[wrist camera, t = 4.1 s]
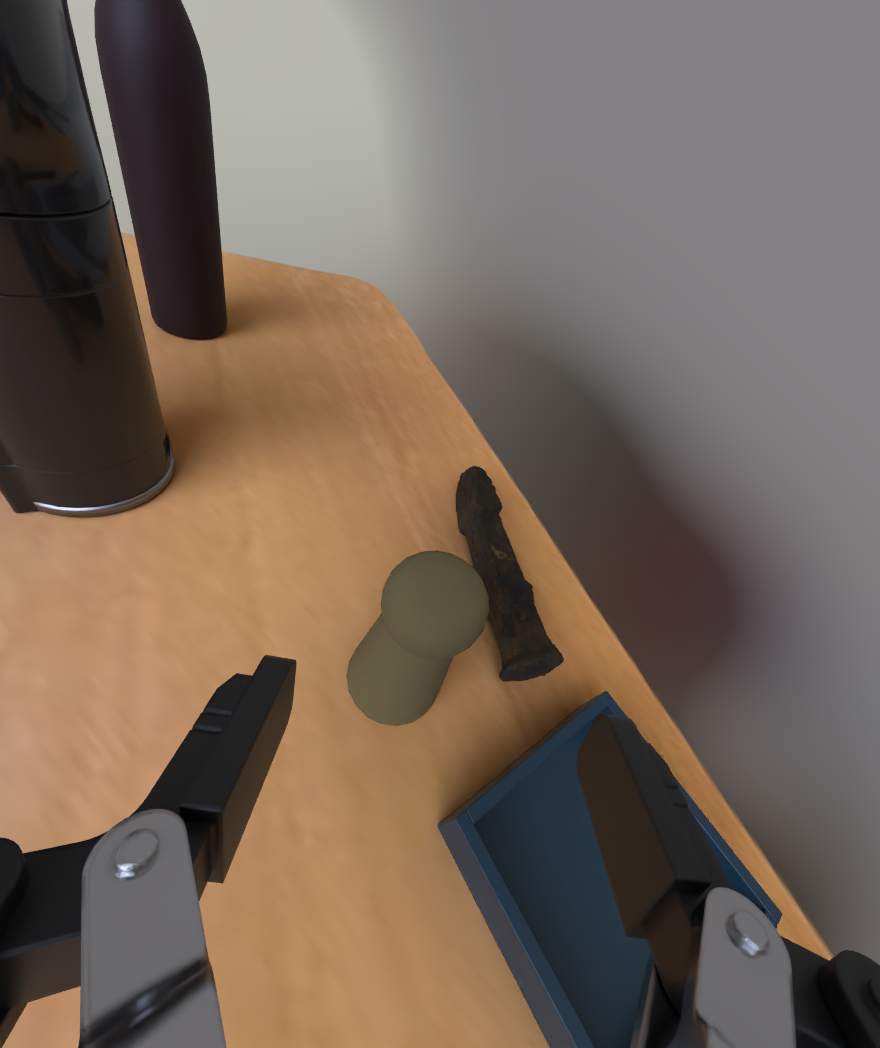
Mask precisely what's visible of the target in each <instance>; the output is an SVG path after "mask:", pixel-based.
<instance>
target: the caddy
mask: <svg viewBox="0 0 880 1048" xmlns="http://www.w3.org/2000/svg"><path fill="white" fill-rule="evenodd" d="M599 714H607V715H612V716H618V717H624V718H628V717H627V716H626V715H625V714H624V712H623V711H622V710H621V709H620V707H619V706H618V705H617V704H616V702H615V701H614V700H613V698H612V697H611V696H610V695H609V693H608V692H607V691H605V692H603V693H601V694H600V695H598V696H596V697H595V698H593V699H591V700H590V701H588V702H586V703H585V704H583V705H582V706H580V707H579V708H578V709H577V710H576V711H574V712H573V713H572V714H571V715H569V716H568V717H567V718H566V719H565V720H563V721H562V722H561V723H560V724H559V725H557V726H556V727H555V728H554V729H553V730H551V731H550V732H549V733H548V734H547V735H545V736H544V737H543V738H542V739H541V740H539V741H538V742H537V743H536V744H535V745H533V746H532V747H531V748H530V749H529V750H527V751H526V752H525V753H524V754H523V755H521V756H520V757H519V758H518V759H517V760H515V761H514V762H513V763H512V764H511V765H509V766H508V767H507V768H506V769H505V770H503V771H502V772H501V773H500V774H499V775H497V776H496V777H495V778H494V779H493V780H491V781H490V782H489V783H488V784H487V785H485V786H484V787H483V788H482V789H481V790H479V791H478V792H477V793H476V794H475V795H473V796H472V797H471V798H470V799H469V800H467V801H466V802H465V803H464V804H463V805H461V806H460V807H459V808H458V809H457V810H455V811H454V812H453V813H452V814H451V815H449V816H448V817H447V818H446V819H445V820H443V821H442V822H441V823H440V824H439V825H438V828H439V830H440V832H441V834H442V836H443V838H444V840H445V842H446V844H447V846H448V848H449V850H450V852H451V854H452V856H453V858H454V860H455V862H456V864H457V866H458V868H459V870H460V872H461V874H462V876H463V877H464V879H465V881H466V883H467V885H468V887H469V889H470V891H471V893H472V895H473V897H474V899H475V901H476V903H477V905H478V907H479V909H480V911H481V913H482V915H483V917H484V919H485V921H486V923H487V925H488V927H489V929H490V931H491V933H492V934H493V936H494V938H495V940H496V942H497V944H498V946H499V948H500V950H501V952H502V954H503V956H504V958H505V960H506V962H507V964H508V966H509V968H510V970H511V972H512V974H513V976H514V978H515V980H516V982H517V984H518V986H519V988H520V990H521V991H522V993H523V995H524V997H525V999H526V1001H527V1003H528V1005H529V1007H530V1009H531V1011H532V1013H533V1015H534V1017H535V1019H536V1021H537V1023H538V1025H539V1027H540V1029H541V1031H542V1033H543V1035H544V1037H545V1039H546V1041H547V1043H548V1045H549V1047H550V1048H630V1043H631V1038H632V1033H633V1028H634V1023H635V1018H636V1013H637V1008H638V1003H639V998H640V993H641V988H642V983H643V978H644V974H645V969H646V964H647V961H648V959H649V957H650V955H651V954H652V952H651V949H650V946H649V943H648V940H647V939H639V938H631V937H626V934H625V930H624V927H623V924H622V920H621V917H620V914H619V911H618V907H617V904H616V901H615V897H614V894H613V891H612V887H611V884H610V881H609V877H608V874H607V871H606V868H605V864H604V861H603V858H602V854H601V851H600V848H599V844H598V841H597V838H596V834H595V831H594V828H593V825H592V821H591V818H590V815H589V811H588V808H587V805H586V801H585V798H584V795H583V791H582V788H581V785H580V782H579V778H578V774H577V765H576V763H577V754H578V751H579V749H580V747H581V745H582V743H583V741H584V739H585V737H586V735H587V734H588V732H589V730H590V728H591V726H592V724H593V722H594V720H595V719H596V717H597V716H598V715H599ZM638 732H639V731H638ZM639 734H640V733H639ZM640 736H641V738H642V740H643V742H644V743H647V742H646V740H645V739H644V738H643V737H642V735H641V734H640ZM673 777H674V776H673ZM674 778H675V777H674ZM675 780H676V778H675ZM676 782H677V784H678V789H679V790H681V792H682V794H683V796H684V798H685V800H686V802H687V803H688V809H691V811H692V813H693V815H694V817H695V819H696V821H697V823H698V825H699V827H700V829H701V830H702V832H703V834H704V836H705V838H706V840H707V842H708V844H709V846H710V848H711V850H712V852H713V854H714V855H715V857H716V859H717V861H718V863H719V865H720V867H721V869H722V871H723V873H724V875H725V877H726V879H727V881H728V882H729V884H730V886H731V888H732V889H733V890H734V891H736V892H738V893H740V894H742V895H743V896H744V897H746V898H747V899H749V900H750V901H751V902H752V903H754V904H755V905H756V906H757V907H758V908H759V909H760V910H761V911H762V912H763V913H764V914H765V916H766V917H767V918H768V919H769V920H770V922H771V923H772V924H773V926H774V927H775V929H776V928H777V924H778V923H779V921H780V918H781V916H782V913H781V912H780V910H779V909H778V908H777V907H776V905H775V904H774V903H773V902H772V900H771V899H770V898H769V896H768V895H767V894H766V893H765V891H764V890H763V889H762V888H761V886H760V885H759V884H758V882H757V881H756V880H755V879H754V877H753V876H752V875H751V874H750V872H749V871H748V870H747V869H746V867H745V866H744V865H743V863H742V862H741V861H740V860H739V858H738V857H737V856H736V855H735V853H734V852H733V851H732V849H731V848H730V847H729V846H728V844H727V843H726V842H725V841H724V839H723V838H722V837H721V836H720V834H719V833H718V832H717V830H716V829H715V828H714V827H713V825H712V824H711V823H710V822H709V820H708V819H707V818H706V816H705V815H704V814H703V813H702V811H701V810H700V809H699V808H698V806H697V805H696V804H695V803H694V801H693V800H692V799H691V797H690V796H689V795H688V794H687V792H686V791H685V790H684V789H683V787H682V786H681V785H680V783H679V782H678V781H677V780H676Z"/></svg>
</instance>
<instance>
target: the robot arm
mask: <svg viewBox="0 0 880 1048" xmlns="http://www.w3.org/2000/svg"><path fill="white" fill-rule="evenodd" d="M165 425H166V424H165ZM165 425H164V420H163V416H162V412H161V407H160V403H159V399H158V394H157V390H156V385H155V381H154V377H153V372H152V368H151V364H150V359H149V355H148V350H147V346H146V342H145V337H144V333H143V328H142V324H141V320H140V315H139V311H138V307H137V302H136V298H135V293H134V289H133V285H132V280H131V276H130V272H129V267H128V264H127V258H126V254H125V250H124V245H123V241H122V236H121V232H120V228H119V224H118V219H117V215H116V211H115V206H114V201H113V198H112V196H111V189H110V185H109V181H108V176H107V173H106V169H105V165H104V160H103V156H102V152H101V148H100V145H99V141H98V136H97V132H96V128H95V124H94V120H93V116H92V111H91V107H90V103H89V99H88V95H87V90H86V86H85V82H84V77H83V73H82V68H81V64H80V60H79V56H78V51H77V46H76V41H75V37H74V33H73V28H72V24H71V19H70V14H69V9H68V4H67V0H0V491H1V493H2V494H3V495H4V497H5V498H6V500H7V501H8V503H9V504H10V506H11V507H12V509H13V510H14V512H16V513H23V512H29V511H42V512H46V513H49V514H54V515H60V516H69V517H93V516H102V515H108V514H113V513H117V512H121V511H125V510H128V509H131V508H133V507H136V506H138V505H140V504H142V503H144V502H146V501H148V500H150V499H151V498H153V497H154V496H156V495H157V494H159V493H160V492H161V491H162V490H163V489H164V488H165V487H166V486H167V484H168V483H169V482H170V480H171V478H172V476H173V473H174V469H175V463H174V458H173V457H174V456H173V452H172V450H171V449H172V447H171V448H170V445H171V443H170V444H169V442H170V439H168V438H169V436H167V434H168V432H167V434H166V430H167V428H166V429H165ZM295 674H296V660H293V659H287V658H281V657H275V656H270V655H265V656H264V657H263V659H262V660H261V662H260V664H259V665H258V667H257V669H256V671H255V672H254V674H253V676H250V675H244V674H238V673H237V674H235V675H234V676H233V677H231V678H230V679H229V680H228V681H226V682H225V683H224V684H223V685H221V686H220V687H219V688H217V690H216V691H215V693H214V694H213V696H212V697H211V699H210V700H209V702H208V704H207V705H206V707H205V708H204V711H203V713H201V714H200V716H199V717H198V719H197V721H196V722H195V724H194V725H193V728H192V730H190V731H189V733H188V734H187V736H186V738H185V739H184V741H183V742H182V744H181V745H180V747H179V748H178V750H177V751H176V753H175V755H174V756H173V758H172V759H171V761H170V762H169V764H168V765H167V767H166V768H165V770H164V772H163V773H162V775H161V776H160V778H159V779H158V781H157V782H156V784H155V785H154V787H153V789H152V790H151V792H150V793H149V795H148V796H147V798H146V799H145V800H144V802H143V803H142V804H141V805H140V807H139V808H138V809H137V810H136V811H135V812H134V813H133V814H132V815H131V816H129V817H128V818H126V819H124V820H123V821H121V822H119V823H118V824H116V825H115V826H114V827H113V828H111V829H110V830H109V831H107V832H105V833H103V834H101V835H99V836H97V837H94V838H92V839H89V840H85V841H81V842H77V843H72V844H67V845H62V846H57V847H53V848H48V849H43V850H38V851H33V852H28V853H22V851H21V849H20V847H19V845H17V844H16V843H15V842H14V841H12V840H9V839H7V838H0V1048H2V1046H3V1045H4V1043H5V1041H6V1039H7V1038H8V1036H9V1034H10V1032H11V1031H12V1029H13V1027H14V1026H15V1024H16V1022H17V1020H18V1019H19V1017H20V1015H21V1014H22V1012H23V1010H24V1008H25V1007H26V1005H27V1003H28V1002H30V1001H34V1000H37V999H40V998H43V997H47V996H50V995H53V994H56V993H59V992H63V991H66V990H69V989H72V988H76V987H79V986H81V1004H80V1040H79V1047H78V1048H226V1042H225V1036H224V1030H223V1025H222V1019H221V1013H220V1007H219V1002H218V996H217V990H216V985H215V980H214V975H213V971H212V967H211V963H210V961H209V957H208V952H207V947H206V941H205V935H204V930H203V924H202V918H201V912H200V906H199V900H200V898H201V896H202V893H203V891H204V889H205V886H206V884H207V882H216V883H223V882H224V879H225V877H226V874H227V872H228V870H229V867H230V865H231V862H232V860H233V857H234V855H235V852H236V850H237V847H238V845H239V842H240V840H241V838H242V835H243V833H244V830H245V828H246V825H247V823H248V820H249V818H250V815H251V813H252V810H253V808H254V806H255V803H256V801H257V798H258V796H259V793H260V791H261V788H262V786H263V783H264V781H265V778H266V776H267V774H268V771H269V769H270V766H271V764H272V761H273V759H274V756H275V754H276V751H277V749H278V746H279V744H280V742H281V739H282V737H283V734H284V732H285V729H286V726H287V724H288V720H289V717H290V713H291V709H292V704H293V695H294V684H295ZM576 765H577V774H578V778H579V782H580V785H581V788H582V791H583V795H584V798H585V801H586V805H587V808H588V811H589V815H590V818H591V821H592V825H593V828H594V831H595V834H596V838H597V841H598V844H599V848H600V851H601V854H602V858H603V861H604V864H605V868H606V871H607V874H608V877H609V881H610V884H611V887H612V891H613V894H614V897H615V901H616V904H617V907H618V911H619V914H620V917H621V920H622V924H623V927H624V930H625V934H626V937H631V938H639V939H647V940H648V943H649V946H650V949H651V952H652V954H651V955H650V957H649V959H648V961H647V964H646V969H645V974H644V978H643V983H642V988H641V993H640V998H639V1003H638V1008H637V1013H636V1018H635V1023H634V1028H633V1033H632V1038H631V1043H630V1048H880V965H878V964H877V963H876V962H874V961H873V960H871V959H870V958H868V957H866V956H864V955H862V954H860V953H858V952H854V951H849V950H845V951H842V952H840V953H839V954H838V955H836V956H835V957H834V958H832V959H831V960H830V961H829V960H827V959H825V958H823V957H821V956H819V955H817V954H815V953H813V952H811V951H809V950H807V949H805V948H803V947H801V946H799V945H797V944H795V943H793V942H791V941H789V940H788V939H786V938H784V937H782V936H780V935H779V933H778V932H777V930H776V929H775V927H774V926H773V924H772V923H771V922H770V920H769V919H768V918H767V917H766V916H765V914H764V913H763V912H762V911H761V910H760V909H759V908H758V907H757V906H756V905H755V904H754V903H752V902H751V901H750V900H749V899H747V898H746V897H744V896H743V895H742V894H740V893H738V892H736V891H734V890H733V889H732V888H731V886H730V884H729V882H728V881H727V879H726V877H725V875H724V873H723V871H722V869H721V867H720V865H719V863H718V861H717V859H716V857H715V855H714V854H713V852H712V850H711V848H710V846H709V844H708V842H707V840H706V838H705V836H704V834H703V832H702V830H701V829H700V827H699V825H698V823H697V821H696V819H695V817H694V815H693V813H692V811H691V809H688V803H687V802H686V800H685V798H684V796H683V794H682V792H681V790H679V789H678V784H677V782H676V780H675V778H674V777H673V775H672V773H671V771H670V769H669V767H668V765H667V763H666V762H665V761H664V760H663V759H662V757H661V756H660V755H659V754H658V753H657V752H656V750H655V749H654V748H653V747H652V746H651V745H650V744H649V743H644V742H643V740H642V738H641V736H640V734H639V732H638V730H637V728H636V726H635V724H634V722H633V721H632V720H631V719H629V718H624V717H618V716H612V715H607V714H599V715H598V716H597V717H596V719H595V720H594V722H593V724H592V726H591V728H590V730H589V732H588V734H587V735H586V737H585V739H584V741H583V743H582V745H581V747H580V749H579V751H578V754H577V763H576Z"/></svg>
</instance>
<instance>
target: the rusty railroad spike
mask: <svg viewBox="0 0 880 1048" xmlns="http://www.w3.org/2000/svg"><path fill="white" fill-rule="evenodd" d="M495 491H496V489H495V486H493V485H492V481H491V479H490V478H489V477H488V476H487V474H486V472H485V471H484V470H483V469H482V468H480V467H477V466H473V467H470V468H469V469H467V470H466V471H465V472H464V473H462V474H461V476H460V481H459V483H458V487H457V492H456V511H457V515H458V527H459V530H460V533H462V534H463V535H465V536H466V538H467V541H468V545H469V549H470V553H471V556H472V560H473V566H474V569H475V570H476V572H477V573H478V574H479V576H480V577H481V578H482V581H483V583H484V586H485V588H486V591H487V594H488V600H489V613H488V618H489V620H490V622H491V625H492V628H493V630H494V635H495V637H496V640H497V643H498V646H499V649H500V653H501V657H502V670H501V672H500V674H499V677H500V679H501V680H502V681H522V680H528V679H531V678H535V677H538V676H540V675H542V676H543V675H544V676H545V674H546V673H549V672H550V671H551V670H553V669H554V668H555V667H557V666H559V665H560V664H561V663H562V662H563V661H564V658H563V656H562V654H561V653H560V652H559V650H558V649H557V648H556V646H555V645H554V644H552V642H551V640H550V639H549V637H548V636H547V635H546V632H545V629H544V626H543V624H542V622H541V619H540V616H539V615H538V612H537V610H536V607H535V604H534V597H533V591H532V588H533V586H532V585H531V584H530V583H528V582H527V581H526V580H525V579H524V577H523V573H522V571H521V569H520V566H519V564H518V562H517V559H516V557H515V553H514V551H513V549H512V546H511V544H510V541H509V539H508V537H507V534H506V532H505V530H504V528H503V525H502V522H501V518H500V516H499V512H500V511H501V509H502V505H501V502H500V499H499V497H498V496H497V494H496V492H495Z"/></svg>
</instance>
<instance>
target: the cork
mask: <svg viewBox="0 0 880 1048" xmlns="http://www.w3.org/2000/svg"><path fill="white" fill-rule="evenodd" d="M381 609H382V614H381V615H380V616H379V618H378V619H377V621H376V622H375V623H374V625H373V626H372V628H371V629H370V630H369V632H368V633H367V634H366V636H365V637H364V639H363V640H362V641H361V643H360V644H359V646H358V647H357V648H356V650H355V652H354V654H353V656H352V658H351V659H350V661H349V667H348V672H347V681H348V688H349V692H350V694H351V696H352V698H353V700H354V702H355V704H356V706H357V707H358V708H359V709H360V710H361V711H362V712H363V713H364V714H365V715H366V716H367V717H369V718H371V719H373V720H375V721H377V722H379V723H381V724H388V725H397V726H398V725H402V724H406V723H411V722H413V721H415V720H416V719H418V718H419V717H421V716H423V715H424V714H425V713H426V712H427V711H428V709H429V708H430V707H431V705H432V704H433V703H434V701H435V699H436V696H437V694H438V692H439V689H440V687H441V685H442V682H443V680H444V678H445V675H446V673H447V671H448V668H449V666H450V664H451V661H452V659H453V657H454V656H455V655H457V654H459V653H461V652H462V651H464V650H466V649H468V648H469V647H470V646H471V645H472V644H473V643H474V642H475V640H476V639H477V638H478V637H479V635H480V634H481V633H482V632H483V630H484V627H485V623H486V620H487V617H488V613H489V600H488V594H487V591H486V588H485V586H484V583H483V581H482V578H481V577H480V576H479V574H478V573H477V572H476V570H475V569H474V568H473V567H472V566H470V565H469V564H468V563H467V562H466V561H464V560H463V559H461V558H459V557H457V556H455V555H453V554H451V553H446V552H441V551H425V552H421V553H418V554H415V555H412V556H409V557H407V558H406V559H404V560H403V561H402V562H401V563H400V564H398V565H397V566H396V567H395V568H394V569H393V570H392V572H391V574H390V575H389V577H388V579H387V581H386V583H385V585H384V588H383V593H382V601H381Z"/></svg>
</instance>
